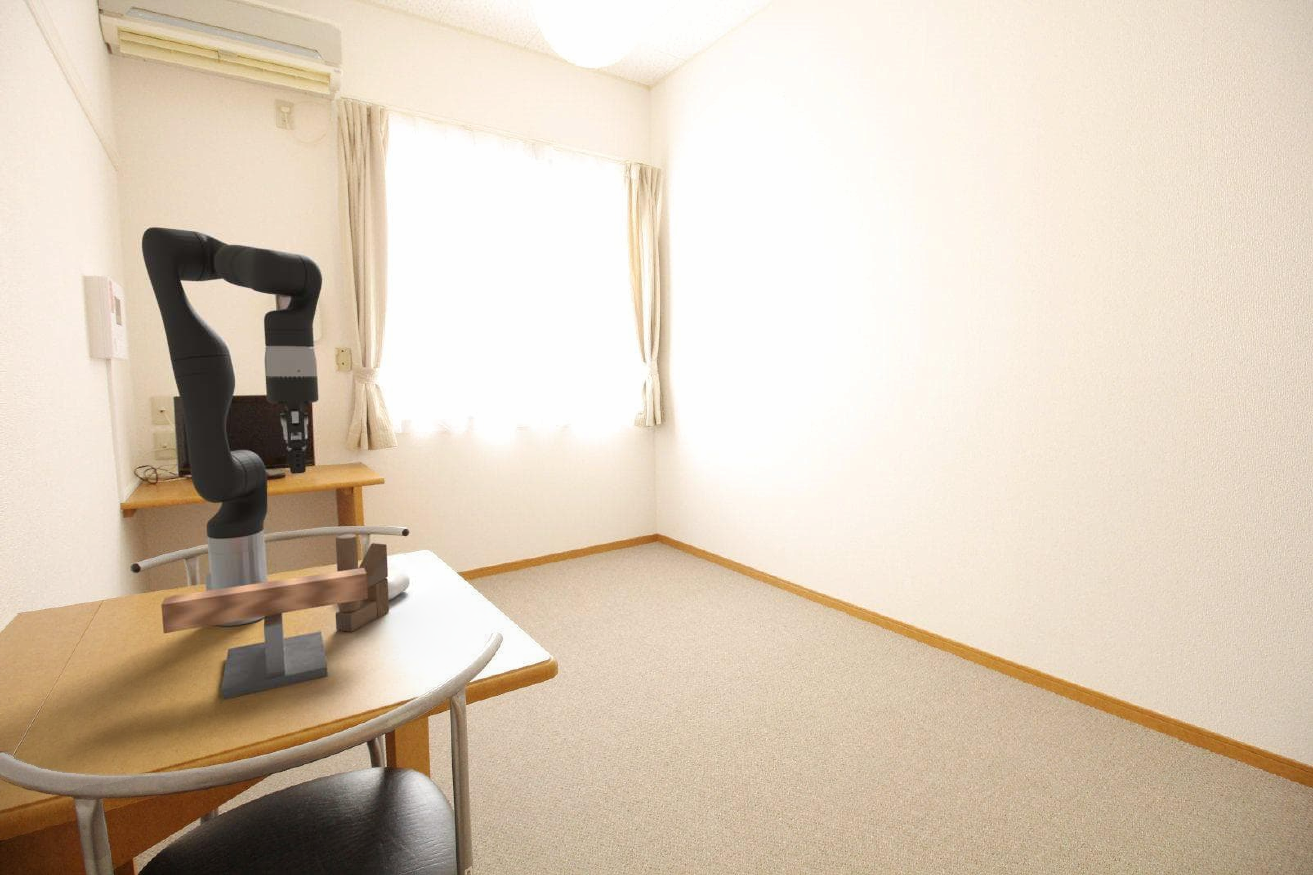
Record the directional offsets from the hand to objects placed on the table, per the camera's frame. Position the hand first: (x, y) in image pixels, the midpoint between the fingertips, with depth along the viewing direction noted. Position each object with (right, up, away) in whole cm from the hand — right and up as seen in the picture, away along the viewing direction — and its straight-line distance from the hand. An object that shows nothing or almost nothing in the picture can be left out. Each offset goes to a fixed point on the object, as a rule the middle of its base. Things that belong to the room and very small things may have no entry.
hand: (297, 469), depth 105 cm
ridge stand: (-2, -33, -3) cm, 33 cm away
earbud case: (0, -30, +30) cm, 42 cm away
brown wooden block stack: (+4, -31, +16) cm, 35 cm away
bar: (-2, -23, -4) cm, 23 cm away
